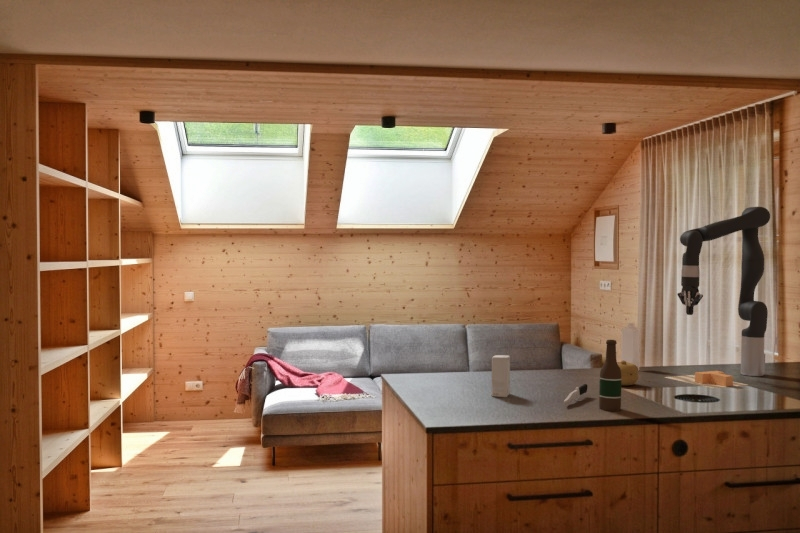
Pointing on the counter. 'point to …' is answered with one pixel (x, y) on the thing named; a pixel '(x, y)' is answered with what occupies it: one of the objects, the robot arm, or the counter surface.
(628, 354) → the milk
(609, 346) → the beer bottle
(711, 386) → the push board
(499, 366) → the skincare box
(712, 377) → the t block
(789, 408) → the counter surface
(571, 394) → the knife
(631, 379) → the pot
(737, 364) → the counter surface
